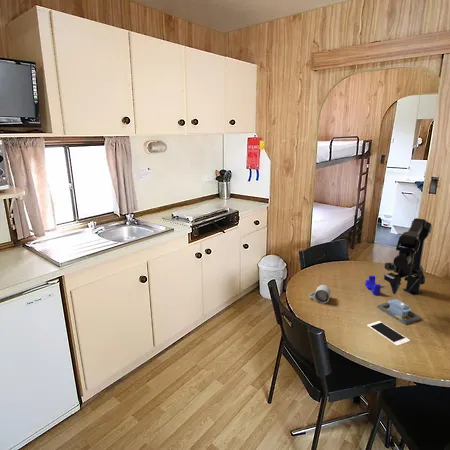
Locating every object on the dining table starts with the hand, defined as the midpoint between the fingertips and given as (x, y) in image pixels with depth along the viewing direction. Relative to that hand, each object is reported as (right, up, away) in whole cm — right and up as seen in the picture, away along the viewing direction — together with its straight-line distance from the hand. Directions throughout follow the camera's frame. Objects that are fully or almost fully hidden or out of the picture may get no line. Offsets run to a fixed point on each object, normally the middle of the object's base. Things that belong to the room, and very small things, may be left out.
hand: (401, 291), depth 150 cm
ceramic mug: (-33, -8, +18) cm, 39 cm away
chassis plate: (0, -11, +3) cm, 12 cm away
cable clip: (-2, -5, +26) cm, 27 cm away
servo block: (0, -11, +4) cm, 12 cm away
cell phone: (-12, -16, -10) cm, 23 cm away
